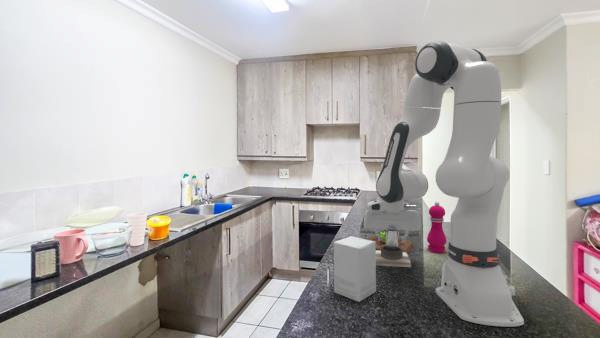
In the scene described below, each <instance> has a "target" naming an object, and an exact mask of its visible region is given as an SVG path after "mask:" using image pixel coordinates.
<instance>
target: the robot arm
mask: <svg viewBox="0 0 600 338" xmlns="http://www.w3.org/2000/svg"><path fill="white" fill-rule="evenodd" d="M414 63H415V65H414V67H415V72H416V74H414V75H413V76H412V77H411V80H410V82H409V86H408V89H407V91H406V96H405V100H404V101H405V102H404V108H403V111H402V115H401V117H400V120H399V122H398V123H397V124H396V125H395V126H394V127H393V130H392V132H391V136H390V138H389V141H388V142H389V143H388V146H387V150H386V154H385V156H384V159H383V163H381V165H380V169H379V175H378V177H377V179H376V182H375V190H376V192H377V193H376V194H377V195H378V197H379V198H378V199H375V200H372V201H368V202H367V205H366V207H367V209H366V210H365V214H364V217H363V218H364V219H363V228H364V229H365V230H372V231H373V230H374V233H375V235H376V236H378V241H381V242H382V236H380V235H381V234H380V231H381V230H382V231H384V230H388V226H389V225H397V230H398V231H403V232H404V235H403V236H400V238H401V242H405V243H406V239H407V238H408V236H409V234H410V232H419V231H420V230H422V223H421V222H422V221H421V216H422V212H423V211H422V208H421V207H420V206H418V205H416V204H405V201H407V200H413V199H419V198H422V197H425V195H426V194H427V192H428V190H429V182H428V180H429V179H428V178H427V176H426V175H425V174H424V172H421V171H418V170H415V169H412V168H410V167H409V166H407V165H405V163H404V161H405V159H406V154H407V151H408V149H409V147H410V146H411V145H412V143H414V142H415V141H417V140H418V139H420V138H421V137H424V136H426V135H428V134H430V133H431V132H432V131H434V129H436V128H437V126H438V123H439V121H440V116H441V109H442V103H443V102H442V101H443V97H444V94H445V92H446V91H447V90H448V89H451V90H453V94H454V96H453V112H452V113H453V114H452V132H451V137H450V140H449V141H450V142H449V145H448V148H447V152H446V154H445V157H444V158H443V161H442V162H441V164H439V166H438V168H437V169H436V171H435V172H436V173H435V177H434V178H435V184H436V186H437V188H438V189H439V190H440V191H441V192H442V193H443V194H444V195H446V196H449V197H453V198H458V199H457V202H456V205H455V207H454V210H453V211H452V212H451V215H450V224H449V226H450V227H449V228H450V230H449V231H450V233H449V235H450V237H449V238H450V239H449V242H448V247H447V252H448V253H447V255H448V258H447V260H445V262H444V263H442V268H441V269H442V270H441V284H440V286H438V287H436V288H435V291H434V293H435V294H436V295H437V296H438V297H439V298H440V299H441V300H442V301H443V302H444V303H445V304H446V305H447V306H448V307H449V309H451V310H452V312H453V313H455V314H456V315H457V316H458V318H460V319H461V320H464V321H466V322H469V323H474V324H479V325H485V326H492V327H502V328H503V327H505V328H506V327H511V328H513V327H520V326H523V325H525V320H524V317H523V315H521V314H522V313H520V311H519V308H518V307H517V306H516V304H515V302H514V301H513V297H514V296H516V288H515V286H514V285H510V284H509V285H508V283H507V281H508V276H507V275H504V273H503V271H502V268H501V266H500V263H501V262H500V254H499V249H498V248H497V227H498V226H497V225H498V217H499V212H500V208H501V204H502V201H503V196H504V193H505V187H506V185H507V183H508V182H509V180H510V175H511V174H510V169H509V168H508V165H507V164H506V163H505V162H504V161H502V160H500V159H499V158H497V157H494V156H491V153H492V151H493V147H494V144H495V141H496V139H497V138H498V137H499V135H500V133H501V115H502V113H501V111H502V85H501V83H502V82H501V77H500V76H501V75H500V71H499V68H498V67H497V65H496V64H494V63H493V62H490V61H488V59H487V58H486V56H485V55H484V54H483V53H482V52H481V51H480V50H477V49H475V48H470V47H467V46H464V45H462V44H459V43H453V42H452V43H451V42H445V41H432V42H429V43H426V44H425V45H424V46H422V48H420V50H419V51H418V53H417V55H416V58H415V62H414ZM379 234H380V235H379ZM512 296H513V297H512Z"/></svg>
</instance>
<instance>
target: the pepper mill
mask: <svg viewBox="0 0 600 338" xmlns="http://www.w3.org/2000/svg"><path fill="white" fill-rule="evenodd" d="M428 214H429V215H430V219H429V220H430V223H431V225H430V229H429V232H428V234H427V237H426V241H427V243H428V245H427V250H428V251H429V252H431V253H436V254H444V253H446V246H445V245H446V244H447V243H448V242H447V237H446V234H445V232H444V228H443V222H444V219H445V218H444V217H445V216H446V210H445V208H444V207H443V206H441V205H440V202H439V201H435V202H434V205H431V206H430V207H429V209H428Z"/></svg>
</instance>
